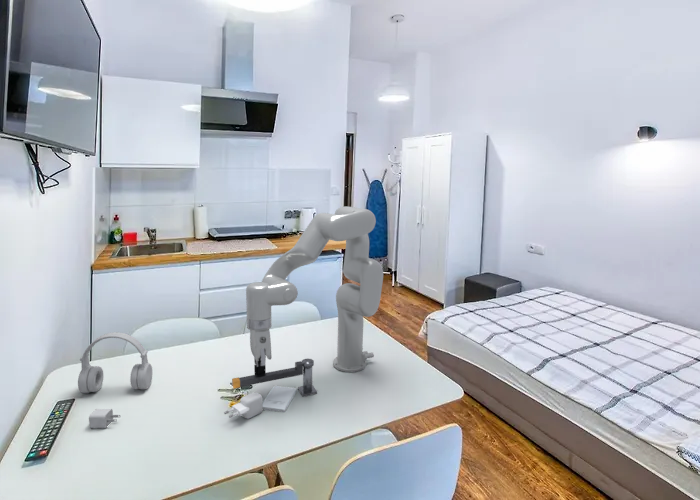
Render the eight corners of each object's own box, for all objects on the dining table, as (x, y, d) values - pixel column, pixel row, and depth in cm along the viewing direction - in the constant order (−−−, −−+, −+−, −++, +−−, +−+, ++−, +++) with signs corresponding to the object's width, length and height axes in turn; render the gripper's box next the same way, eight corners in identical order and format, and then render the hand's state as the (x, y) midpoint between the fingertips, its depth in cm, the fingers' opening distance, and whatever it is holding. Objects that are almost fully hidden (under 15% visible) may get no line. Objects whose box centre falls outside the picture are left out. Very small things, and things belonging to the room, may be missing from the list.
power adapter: (231, 429, 114) (231, 410, 113) (222, 422, 117) (221, 403, 116) (264, 413, 122) (264, 395, 121) (255, 406, 125) (254, 389, 124)
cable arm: (311, 368, 136) (311, 357, 135) (315, 373, 132) (315, 362, 132) (231, 383, 125) (231, 372, 124) (233, 390, 121) (233, 378, 121)
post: (312, 386, 138) (312, 361, 136) (317, 393, 134) (317, 367, 132) (297, 389, 136) (298, 363, 134) (302, 396, 131) (302, 370, 130)
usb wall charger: (98, 420, 117) (96, 407, 116) (122, 420, 117) (121, 407, 116) (89, 429, 113) (88, 416, 112) (115, 429, 113) (114, 416, 112)
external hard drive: (296, 392, 135) (284, 414, 123) (273, 389, 136) (259, 410, 124) (296, 388, 135) (284, 409, 123) (273, 385, 136) (259, 406, 124)
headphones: (154, 380, 139) (150, 327, 135) (146, 394, 131) (142, 338, 127) (90, 384, 135) (84, 330, 132) (78, 398, 127) (71, 341, 123)
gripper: (277, 329, 121) (277, 385, 124) (265, 313, 134) (266, 364, 138) (251, 332, 118) (252, 390, 121) (242, 315, 131) (243, 368, 135)
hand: (260, 376), depth 129 cm, fingers closed
